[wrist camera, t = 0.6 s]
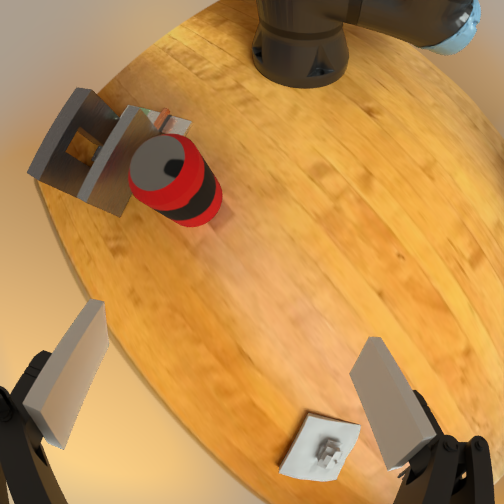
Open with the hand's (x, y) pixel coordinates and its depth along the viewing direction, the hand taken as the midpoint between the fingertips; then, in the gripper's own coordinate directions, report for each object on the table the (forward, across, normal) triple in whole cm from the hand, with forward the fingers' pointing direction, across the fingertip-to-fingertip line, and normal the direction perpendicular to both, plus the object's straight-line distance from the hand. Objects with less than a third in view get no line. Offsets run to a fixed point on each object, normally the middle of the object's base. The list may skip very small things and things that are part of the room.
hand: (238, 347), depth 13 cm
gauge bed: (+31, -18, +4) cm, 36 cm away
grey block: (+31, -17, +4) cm, 35 cm away
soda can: (+26, -6, 0) cm, 27 cm away
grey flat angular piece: (+8, +16, -24) cm, 30 cm away
